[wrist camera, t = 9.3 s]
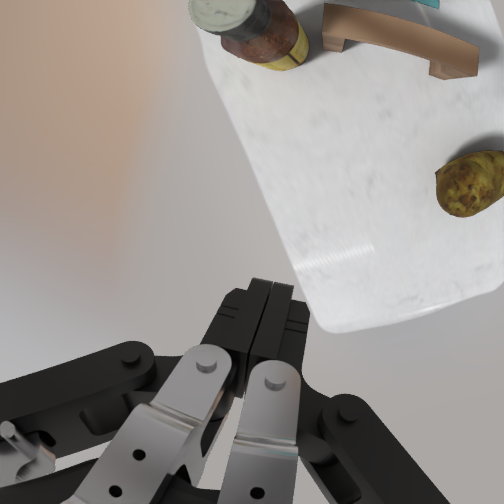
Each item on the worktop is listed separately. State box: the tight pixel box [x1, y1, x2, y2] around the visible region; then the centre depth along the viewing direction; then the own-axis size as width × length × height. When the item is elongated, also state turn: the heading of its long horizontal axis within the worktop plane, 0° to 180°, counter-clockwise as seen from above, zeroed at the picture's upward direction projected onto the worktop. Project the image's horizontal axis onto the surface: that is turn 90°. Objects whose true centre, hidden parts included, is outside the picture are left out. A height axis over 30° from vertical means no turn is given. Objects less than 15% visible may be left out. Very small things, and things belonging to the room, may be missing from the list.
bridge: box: [322, 3, 479, 80], centre depth 22 cm, size 3×14×9 cm, turn 85°
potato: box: [435, 150, 504, 217], centre depth 26 cm, size 8×13×8 cm, turn 93°
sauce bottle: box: [189, 0, 309, 71], centre depth 20 cm, size 6×6×20 cm
